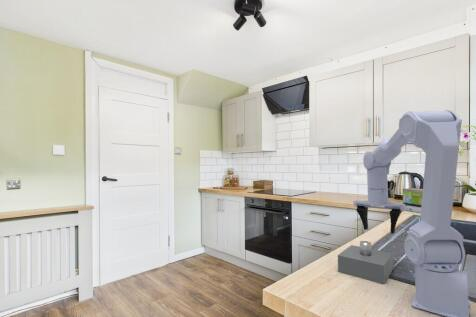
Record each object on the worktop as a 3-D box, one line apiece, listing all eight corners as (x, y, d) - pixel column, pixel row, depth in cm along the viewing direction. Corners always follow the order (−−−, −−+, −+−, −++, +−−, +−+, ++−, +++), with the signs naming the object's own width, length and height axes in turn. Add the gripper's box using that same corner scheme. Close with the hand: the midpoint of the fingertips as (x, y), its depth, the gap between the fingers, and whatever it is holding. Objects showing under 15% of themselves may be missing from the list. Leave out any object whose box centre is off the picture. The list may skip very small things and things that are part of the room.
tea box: (402, 210, 169) (401, 188, 170) (412, 209, 173) (411, 187, 174) (426, 214, 155) (425, 190, 156) (436, 212, 159) (435, 189, 160)
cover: (393, 269, 76) (392, 241, 76) (384, 284, 67) (383, 252, 67) (351, 259, 84) (351, 234, 84) (338, 271, 75) (337, 243, 75)
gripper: (406, 188, 80) (407, 232, 79) (357, 186, 89) (358, 225, 89) (402, 190, 74) (404, 237, 74) (351, 188, 84) (352, 229, 83)
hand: (378, 231), depth 81 cm, fingers open, 7 cm apart
